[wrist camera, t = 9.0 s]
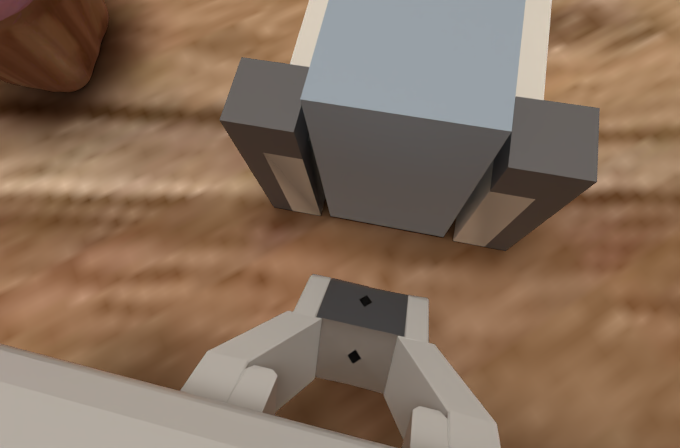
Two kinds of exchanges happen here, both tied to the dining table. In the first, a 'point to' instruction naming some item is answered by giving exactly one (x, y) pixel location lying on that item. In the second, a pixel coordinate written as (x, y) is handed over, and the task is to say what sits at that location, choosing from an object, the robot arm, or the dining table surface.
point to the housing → (494, 187)
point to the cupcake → (50, 42)
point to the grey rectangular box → (410, 105)
